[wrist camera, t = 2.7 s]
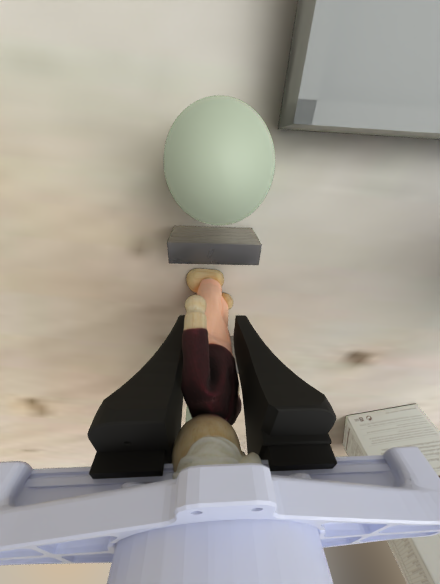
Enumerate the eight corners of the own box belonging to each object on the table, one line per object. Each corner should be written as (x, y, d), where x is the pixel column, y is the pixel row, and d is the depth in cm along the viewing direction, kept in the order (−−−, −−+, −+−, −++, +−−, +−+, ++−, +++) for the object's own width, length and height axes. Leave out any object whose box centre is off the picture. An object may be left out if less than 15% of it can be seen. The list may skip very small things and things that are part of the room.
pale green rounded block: (255, 120, 11) (285, 100, 7) (246, 203, 13) (265, 227, 9) (177, 114, 11) (157, 90, 6) (181, 200, 13) (168, 223, 9)
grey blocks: (251, 228, 14) (261, 244, 11) (236, 345, 20) (241, 373, 17) (174, 225, 14) (166, 242, 11) (183, 345, 20) (179, 374, 17)
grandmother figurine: (163, 269, 15) (43, 534, 5) (209, 245, 14) (192, 507, 4) (214, 336, 19) (213, 568, 8) (254, 321, 18) (308, 559, 8)
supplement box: (402, 434, 32) (551, 649, 18) (341, 444, 33) (437, 656, 19) (418, 401, 27) (642, 666, 13) (344, 414, 28) (480, 674, 14)
